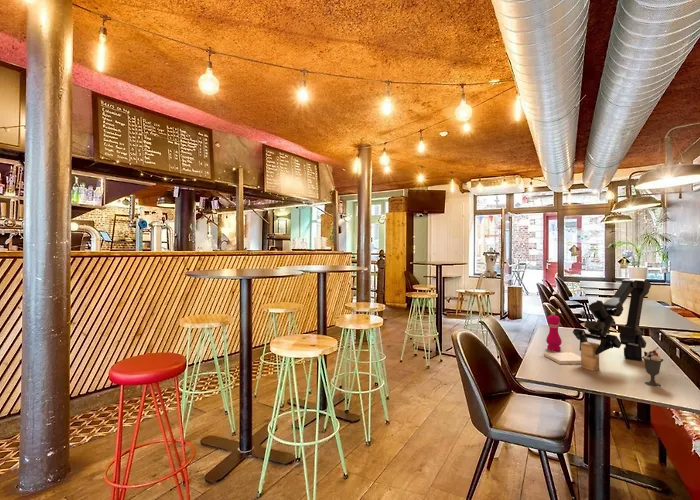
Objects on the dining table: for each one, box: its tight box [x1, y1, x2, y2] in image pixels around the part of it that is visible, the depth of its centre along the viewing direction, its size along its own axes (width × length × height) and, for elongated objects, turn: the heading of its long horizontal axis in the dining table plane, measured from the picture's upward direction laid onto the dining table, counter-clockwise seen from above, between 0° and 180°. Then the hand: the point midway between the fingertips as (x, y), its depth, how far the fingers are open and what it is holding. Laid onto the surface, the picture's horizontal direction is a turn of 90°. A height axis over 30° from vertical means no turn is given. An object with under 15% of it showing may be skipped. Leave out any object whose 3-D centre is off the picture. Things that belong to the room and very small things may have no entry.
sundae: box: [642, 347, 664, 387], centre depth 145 cm, size 7×7×15 cm
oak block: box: [580, 341, 600, 371], centre depth 166 cm, size 5×5×11 cm
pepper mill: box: [545, 311, 563, 352], centre depth 198 cm, size 7×7×20 cm
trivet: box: [543, 351, 581, 365], centre depth 179 cm, size 14×14×2 cm
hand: (588, 352), depth 165 cm, fingers open, 7 cm apart
